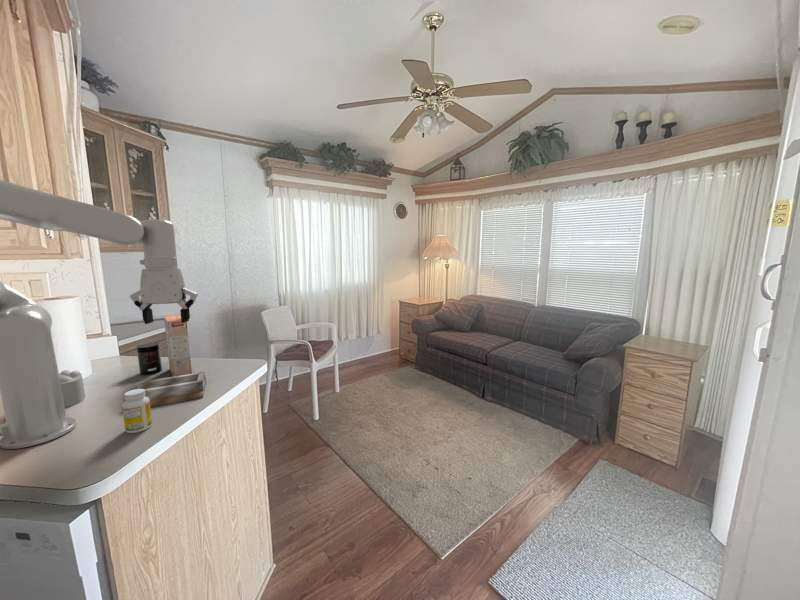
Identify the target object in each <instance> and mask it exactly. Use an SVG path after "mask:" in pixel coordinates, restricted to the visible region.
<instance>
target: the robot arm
mask: <svg viewBox="0 0 800 600" xmlns="http://www.w3.org/2000/svg"><path fill="white" fill-rule="evenodd" d="M0 220H3V221H8V222H10V223H11V222H12V223H15V224H20V225H24V226H29V227H33V228H37V229H42V230H46V231H47V230H48V231H53V232H66V233H72V234H73V233H74V234H77V235H83V236H87V237H91V238H96V239H98V240H100V239H101V240H104V241H109V242H111V243H113V244H114V245H118V246H122V247H128V246H137V245H138V246H140V245H142V247H143V256H144V257H143V259H140V260H139V263H140V265H141V266H142V265H143V266H144V268H143V269H141V273H140V282H139V284H140V285H139V286H140V290H137V291H135V292H134V293H132V294H130V295H129V298H130V299H131V300H132V301H133V304H134V305H135V306H136V307H138V308H139V310H140V311H141V313H142V320H143V322H144V325H148V324H151V323H153V322H154V315H153V309H152V308H151V307H152V306H153V305H164V304H165V305H167V304H168V305H169V304H178V306H179V307H181V309H180V314H181V322H182V323H185V322H189V321H190V318H191V315H190V314H191V313H190V308H191V307H192V306H193V305H194V304H195V303H196V300H197V298H198V294H199V293H197V292H196V291H193V290H191V289H189V288H187V287H186V286H185V285H186V284H185V281H184V276H183V274H182V270H181V269H180V268H178V257H177V256H178V255H177V247H176V237H175V227H174V224H173V222H171V221H169V220H167V219H155V218H154V219H153V218H152V219H145V220H138V219H137V218H135V217H134V216H131V215H129V214H126V213H122V212H118V211H115V210H112V209H108V208H104V207H101V206H97V205H93V204H91V203H90V204H89V203H87V202H83V201H82V202H81V201H77V200H74V199H69V198H67V197H64V196H59V195H56V194H52V193H48V192H45V191H41V190H37V189H34V188H31V187H27V186H23V185H20V184H17V183H14V182H13V183H12V182H10V181H7V180H3V179H0ZM187 296H189V299H188V300H187ZM52 325H53V319H52V317H51V314H50V313H49V311H48V310H47V309H45V308H44V307H42V306H41V305H40V304H38V303H37V302H35V301H33V300H32V299H30V298H28V297H27V296H26V295H24V294H22V293H21V292H19V291H18V290H16V289H15V288H13V287H11V286H10V285H8V284H6V283H5V282H3V281H2V280H0V398H1V403H2V408H3V413H4V417H5V422H4V424H0V437H2V438H0V448H1V449H4V450H14V449H15V450H16V449H17V450H18V449H22V448H27V447H32V446H36V445H41V444H44V443H46V442H50V441H52V440H55V439H57V438H59V437H61V436H64V435H66V434H68V433H69V432H71V431H72V430H73V429H75V427H76V426H77V420H76V418H73V417H67V413H66V407H64V401H63V396H62V390H61V384H60V379H59V373H60V372H59V369H58V364H57V358H56V352H55V349H54V348H55V347H54V342H53V337H52V336H53V335H52V329H51V328H52Z"/></svg>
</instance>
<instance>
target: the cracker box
mask: <svg viewBox="0 0 800 600" xmlns="http://www.w3.org/2000/svg"><path fill="white" fill-rule="evenodd" d="M187 322H188V321H187ZM187 322H185V323H182V322H181V313H180V314H171V315H165V316H163V323H164V330H165V338H166V339H165V340H166V347H167V348H166V349H167V355H168V356H167V357H168V365H169V370H170V373H171V375H172V376H171V377H174V376H180V375H187V374H193V371H192V362H191V353H190V344H189V343H190V342H189V334H188V333H189V331H188V323H187Z"/></svg>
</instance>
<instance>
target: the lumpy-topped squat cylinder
mask: <svg viewBox="0 0 800 600" xmlns="http://www.w3.org/2000/svg"><path fill="white" fill-rule="evenodd" d="M58 373H59V379H60V384H61V390H62V396H63V401H64V407H65V408H68V406H69V407H72V405H73V406H75V405H79V404H80V403H82V402H84V400H85V398H86V393H85V387H84V385H85V384H84V381H83V375H82V373H81V372H80V371H79V370H73V371H69V370H67V369H65V370H64V369H63V370H62V371H61V372H58Z"/></svg>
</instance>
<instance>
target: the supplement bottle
mask: <svg viewBox="0 0 800 600" xmlns="http://www.w3.org/2000/svg"><path fill="white" fill-rule="evenodd" d="M124 400H125V401H123V403H122V405H121V408H122V416H123V422H124V430H125V432H126V433H127V434H137V433H140V432H144V431H145V430H147V429H148V430H149V428H151V426H152V425H153V418H152V410H151V409H152V408H151V407H150V400H149V398H148V397H145V390H144V389H137V388H135V389H132V390H128V391H126V392H125V393H124Z"/></svg>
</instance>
